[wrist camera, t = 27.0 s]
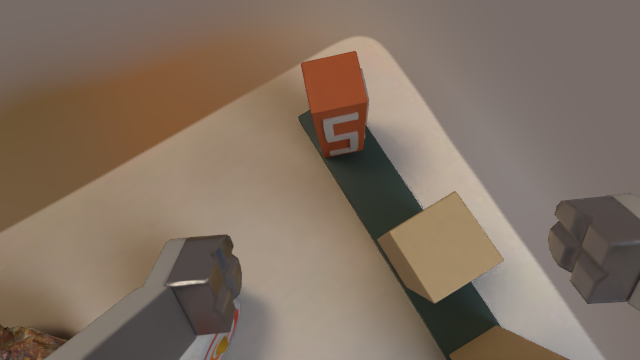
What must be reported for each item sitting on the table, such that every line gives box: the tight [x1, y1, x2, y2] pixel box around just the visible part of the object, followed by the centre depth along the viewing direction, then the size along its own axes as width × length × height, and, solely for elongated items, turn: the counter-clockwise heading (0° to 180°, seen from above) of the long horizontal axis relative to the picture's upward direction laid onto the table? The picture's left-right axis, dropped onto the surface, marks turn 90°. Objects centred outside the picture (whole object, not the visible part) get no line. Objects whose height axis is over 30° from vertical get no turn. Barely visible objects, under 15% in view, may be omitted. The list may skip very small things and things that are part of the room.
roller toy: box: [179, 297, 240, 360], centre depth 21 cm, size 4×6×6 cm
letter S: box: [301, 51, 369, 158], centre depth 21 cm, size 3×3×8 cm
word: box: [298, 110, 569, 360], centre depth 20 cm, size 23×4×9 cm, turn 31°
